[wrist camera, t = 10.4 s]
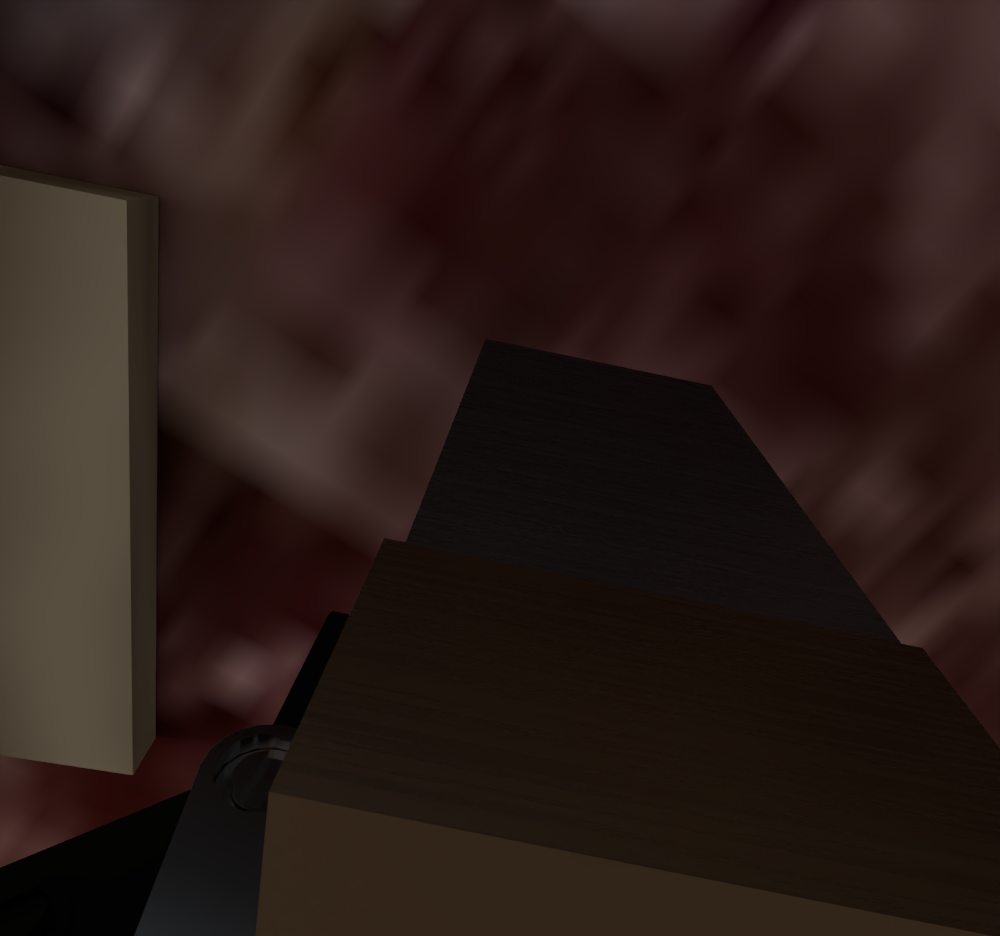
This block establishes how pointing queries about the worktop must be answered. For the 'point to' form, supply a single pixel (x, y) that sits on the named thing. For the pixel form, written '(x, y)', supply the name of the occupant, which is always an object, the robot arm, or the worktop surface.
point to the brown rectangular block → (623, 701)
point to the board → (77, 471)
